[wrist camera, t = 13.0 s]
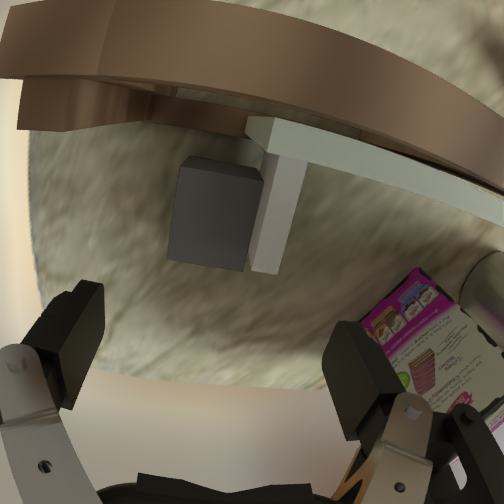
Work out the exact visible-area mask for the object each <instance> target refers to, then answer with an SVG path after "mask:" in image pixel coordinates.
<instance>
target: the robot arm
mask: <svg viewBox="0 0 504 504" xmlns="http://www.w3.org/2000/svg"><path fill="white" fill-rule="evenodd" d="M459 306H460V307H462V308H463V309H464V310H465V311H466V312H467V314H469V315H470V316H471V317H472V318H473V320H474V321H475V322H476V323H477V324H478V325H480V327H481V328H482V329H483V330H484V331H485V332H486V333H487V334H488V335H489V336H490V337H491V338H492V339H493V340H494V341H495V342H496V343H497V344H498V346H499V347H500V348H501V349H502V350H503V351H504V253H503V252H495V253H492V254H490V255H488V256H487V257H485V258H484V259H483V260H482V261H480V262H479V263H478V265H477V266H476V267H475V268H474V269H473V271H472V272H471V274H470V275H469V277H468V278H467V280H466V282H465V284H464V287H463V289H462V292H461V296H460V303H459ZM104 329H105V305H104V286H103V284H102V283H97V282H92V281H88V280H83V279H82V280H80V281H79V283H78V284H77V285H76V287H75V288H74V290H73V291H72V292H68V291H64V292H63V293H61V294H59V295H57V296H56V297H54V298H53V299H52V301H51V302H50V303H49V305H48V306H47V309H45V310H44V311H43V313H42V314H41V317H39V318H38V319H37V321H36V322H35V324H34V325H33V326H32V328H31V329H30V330H29V332H28V333H27V335H26V336H25V337H24V339H23V340H22V342H21V343H20V344H11V345H8V346H5V347H3V348H1V349H0V431H1V435H2V439H3V443H4V447H5V450H6V454H7V457H8V460H9V464H10V467H11V470H12V473H13V476H14V479H15V482H16V485H17V487H18V490H19V493H20V496H21V498H22V501H23V503H24V504H504V455H503V453H502V451H501V449H500V447H499V446H498V444H497V442H496V440H495V438H494V437H493V435H492V434H491V431H490V430H489V428H488V426H487V424H486V423H485V421H484V419H483V418H482V416H481V414H480V413H479V412H478V411H477V410H476V409H475V408H474V407H472V406H471V405H468V404H465V403H458V404H456V405H455V406H454V407H453V408H452V410H451V411H450V412H449V413H448V414H447V413H441V412H436V411H432V408H431V406H430V405H429V403H428V402H427V401H426V400H425V399H424V398H422V397H421V396H419V395H417V394H414V393H409V392H407V391H406V389H405V388H404V386H403V384H402V382H401V381H400V379H399V377H398V375H397V373H396V372H395V370H394V368H393V366H391V363H390V361H389V360H388V358H386V354H385V353H384V351H383V349H382V348H381V346H380V345H379V344H378V343H377V342H376V341H375V340H374V339H372V338H371V337H369V336H368V335H367V333H366V331H365V329H364V328H363V326H362V324H361V323H359V322H350V321H339V322H338V323H337V324H336V326H335V328H334V330H333V333H332V335H331V337H330V340H329V342H328V344H327V347H326V349H325V351H324V354H323V357H322V371H323V374H324V377H325V380H326V382H327V385H328V388H329V391H330V394H331V397H332V400H333V403H334V406H335V409H336V412H337V415H338V418H339V421H340V424H341V427H342V430H343V433H344V435H345V439H346V441H354V440H360V443H361V445H360V446H359V448H358V449H357V451H356V453H355V455H354V457H353V459H352V461H351V463H350V465H349V467H348V469H347V471H346V473H345V475H344V477H343V479H342V481H341V482H340V484H339V486H338V488H337V489H336V491H335V492H334V494H333V495H332V496H331V498H327V497H324V496H320V495H317V494H313V493H312V488H311V484H310V483H308V484H288V485H269V486H264V487H259V488H254V489H250V490H245V491H239V492H234V493H224V492H220V491H216V490H213V489H210V488H206V487H203V486H200V485H197V484H194V483H191V482H188V481H185V480H182V479H173V478H167V477H160V476H154V475H149V474H143V473H138V477H137V483H124V484H117V485H113V486H109V487H106V488H103V489H100V490H98V491H95V489H94V487H93V486H92V484H91V482H90V480H89V479H88V476H87V474H86V473H85V471H84V469H83V467H82V465H81V463H80V461H79V459H78V457H77V454H76V452H75V450H74V448H73V446H72V444H71V441H70V439H69V437H68V435H67V432H66V430H65V428H64V425H63V423H62V420H61V418H60V415H59V410H60V408H61V407H62V408H65V409H68V410H72V409H73V407H74V404H75V401H76V399H77V396H78V394H79V392H80V389H81V387H82V384H83V382H84V380H85V377H86V375H87V372H88V370H89V368H90V365H91V363H92V361H93V359H94V356H95V354H96V352H97V349H98V347H99V345H100V343H101V341H102V338H103V335H104ZM457 456H458V457H459V459H460V461H461V463H462V466H463V468H464V470H465V472H466V475H467V482H466V485H465V487H464V488H463V489H462V490H461V491H460V489H459V486H458V484H457V481H456V479H455V477H454V474H453V472H452V470H451V467H450V465H449V464H450V463H451V462H452V461H453V460H454V459H455V458H456V457H457Z"/></svg>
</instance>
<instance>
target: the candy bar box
mask: <svg viewBox="0 0 504 504" xmlns="http://www.w3.org/2000/svg"><path fill="white" fill-rule="evenodd" d="M359 323H361V324H362V326H363V328H364V329H365V331H366V333H367V335H368V336H369V337H371V338H372V339H374V340H375V341H376V342H377V343H378V344H379V345H380V346H381V348H382V349H383V351H384V353H385V354H386V358H388V360H389V361H390V363H391V366H393V368H394V370H395V372H396V373H397V375H398V377H399V379H400V381H401V382H402V384H403V386H404V388H405V389H406V391H407V392H409V393H414V394H417V395H419V396H421V397H422V398H424V399H425V400H426V401H427V402H428V403H429V405H430V406H431V408H432V411H436V412H441V413H447V414H448V413H449V412H450V411H451V410H452V408H453V407H454V406H455V405H456V404H458V403H465V404H468V405H471V406H472V407H474V408H475V409H476V410H477V411H478V412H479V413H480V414H481V416H482V418H483V419H484V421H485V423H486V424H487V426H488V428H489V430H490V431H491V433H492V432H493V431H494V430H495V429H496V428H498V427H499V426H500V425H501V424H502V423H503V422H504V351H503V350H502V349H501V348H500V347H499V346H498V344H497V343H496V342H495V341H494V340H493V339H492V338H491V337H490V336H489V335H488V334H487V333H486V332H485V331H484V330H483V329H482V328H481V327H480V325H478V324H477V323H476V322H475V321H474V320H473V318H472V317H471V316H470V315H469V314H467V312H466V311H465V310H464V309H463V308H462V307H460V306H459V305H458V304H457V303H456V302H455V301H454V300H453V299H452V298H451V297H450V296H449V295H448V294H447V293H446V292H445V291H444V290H443V289H442V288H441V287H440V286H439V285H438V284H436V283H435V282H434V281H433V280H432V279H431V278H430V277H429V276H428V275H427V274H426V273H425V272H424V271H423V270H422V269H420V268H419V267H417V268H415V269H414V270H413V271H412V272H411V273H410V274H409V275H408V276H407V277H406V278H405V279H404V280H403V281H402V282H401V283H400V284H399V285H398V286H397V287H396V288H395V289H394V290H393V291H392V292H390V293H389V294H388V295H387V296H386V297H385V298H384V299H383V300H382V301H381V302H380V303H379V304H378V305H377V306H376V307H375V308H374V309H372V310H371V311H370V312H369V313H368V314H367V315H366V316H365V317H364V318H362V319H361V320H360V321H359ZM458 459H459V457H458V456H457V457H456V458H455V459H454V460H453V461H452V462H451V463H450V464H449V465H451V464H453V463H454V462H455V461H457V460H458Z"/></svg>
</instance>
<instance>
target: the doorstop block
mask: <svg viewBox="0 0 504 504" xmlns="http://www.w3.org/2000/svg"><path fill="white" fill-rule="evenodd" d="M263 186H264V180H263V179H262V177H261V175H260V174H259V172H258V170H257V168H252V167H247V166H242V165H237V164H232V163H227V162H222V161H216V160H211V159H205V158H199V157H193V156H188V158H187V159H186V160H185V161H184V162H183V164H182V165H181V166H180V170H179V176H178V182H177V188H176V195H175V201H174V208H173V214H172V221H171V229H170V236H169V244H168V252H167V259H169V260H175V261H180V262H186V263H192V264H198V265H204V266H210V267H216V268H222V269H228V270H235V271H241V272H243V270H244V266H245V262H246V257H247V253H248V249H249V245H250V241H251V236H252V232H253V228H254V224H255V219H256V215H257V211H258V207H259V202H260V198H261V194H262V190H263Z"/></svg>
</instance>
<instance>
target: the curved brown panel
mask: <svg viewBox="0 0 504 504" xmlns="http://www.w3.org/2000/svg"><path fill="white" fill-rule="evenodd" d="M0 78H4V79H22V80H23V86H22V92H21V98H20V105H19V113H18V121H17V130H38V131H55V132H66V131H71V130H77V129H83V128H89V127H96V126H103V125H110V124H118V123H126V122H134V121H142V122H150V123H158V124H165V125H172V126H179V127H185V128H192V129H198V130H204V131H209V132H215V133H220V134H226V135H231V136H236V137H241V138H246V139H251V138H250V137H249V136H248V135H247V134H245V128H246V124H247V119H248V116H259V117H275V116H271V115H266V114H262V113H258V112H253V111H248V110H243V109H239V108H234V107H228V106H223V105H218V104H212V103H206V102H200V101H194V100H187V99H180V98H175V96H176V91H177V87H182V88H189V89H196V90H202V91H208V92H214V93H220V94H225V95H230V96H236V97H240V98H245V99H250V100H255V101H259V102H264V103H268V104H272V105H276V106H281V107H285V108H289V109H292V110H296V111H300V112H304V113H307V114H311V115H315V116H318V117H321V118H325V119H328V120H332V121H335V122H338V123H341V124H344V125H348V126H351V127H354V128H357V129H360V130H362V131H361V135H360V139H359V140H358V141H361V142H364V143H367V144H370V145H373V146H376V147H379V148H381V149H384V150H387V151H390V152H393V153H395V154H398V155H401V156H403V157H406V158H409V159H411V160H414V161H416V162H419V163H421V164H424V165H426V166H429V167H431V168H434V169H436V170H439V171H443V172H446V173H448V174H451V175H454V176H456V177H459V178H461V179H464V180H466V181H469V182H471V183H474V184H476V185H478V186H481V187H483V188H486V189H488V190H490V191H492V192H495V193H497V194H499V195H501V196H504V118H503V117H501V116H500V115H499V114H497V113H496V112H494V111H493V110H492V109H490V108H489V107H487V106H486V105H484V104H483V103H481V102H480V101H478V100H477V99H475V98H474V97H472V96H471V95H469V94H467V93H466V92H464V91H463V90H461V89H459V88H458V87H456V86H454V85H453V84H451V83H449V82H447V81H446V80H444V79H442V78H440V77H439V76H437V75H435V74H433V73H431V72H429V71H428V70H426V69H424V68H422V67H420V66H418V65H416V64H414V63H412V62H410V61H408V60H406V59H404V58H402V57H400V56H397V55H395V54H393V53H391V52H389V51H386V50H384V49H382V48H380V47H377V46H375V45H372V44H370V43H368V42H365V41H363V40H360V39H358V38H355V37H352V36H350V35H347V34H344V33H341V32H339V31H336V30H333V29H330V28H327V27H324V26H321V25H318V24H314V23H311V22H308V21H305V20H301V19H298V18H294V17H290V16H287V15H283V14H279V13H275V12H270V11H266V10H262V9H257V8H252V7H247V6H242V5H237V4H231V3H225V2H219V1H212V0H44V1H37V2H32V3H26V4H21V5H16V6H11V7H10V10H9V13H8V17H7V20H6V23H5V27H4V31H3V34H2V38H1V42H0ZM276 118H279V117H276ZM280 119H283V118H280ZM284 120H287V119H284ZM288 121H291V120H288ZM292 122H295V121H292ZM296 123H299V122H296ZM300 124H303V123H300ZM303 125H307V124H303ZM307 126H310V125H307ZM311 127H314V126H311ZM314 128H317V127H314ZM318 129H321V128H318ZM322 130H324V129H322ZM325 131H328V130H325ZM328 132H331V131H328ZM332 133H335V132H332ZM335 134H338V133H335ZM339 135H341V134H339ZM342 136H345V135H342ZM345 137H348V136H345ZM348 138H351V137H348ZM351 139H354V138H351ZM251 140H252V139H251ZM355 140H357V139H355Z"/></svg>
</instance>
